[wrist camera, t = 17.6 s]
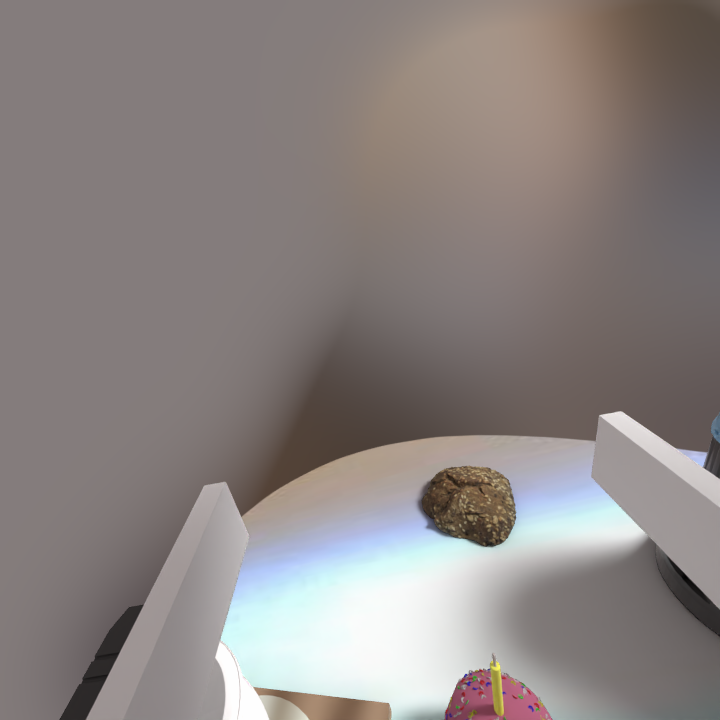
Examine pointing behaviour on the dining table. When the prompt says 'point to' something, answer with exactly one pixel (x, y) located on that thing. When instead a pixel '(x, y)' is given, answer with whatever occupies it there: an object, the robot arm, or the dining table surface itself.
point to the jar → (230, 692)
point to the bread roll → (471, 504)
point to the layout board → (319, 707)
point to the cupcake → (494, 698)
